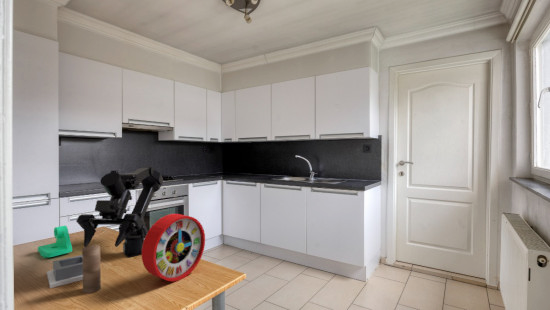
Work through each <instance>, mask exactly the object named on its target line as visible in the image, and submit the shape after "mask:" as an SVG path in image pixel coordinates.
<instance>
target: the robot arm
mask: <svg viewBox="0 0 550 310" xmlns="http://www.w3.org/2000/svg"><path fill="white" fill-rule="evenodd" d="M140 183H141V185H142V190H141V191H140V194H139V195H138V198H137V200H136V203H135V204H134V207H133V209H132V211H131V213H127V212H128V209H127V206H128V204H129V201H132V200H133V196H132V192H131V191H130V190H133V191H134V190H136V189H137V188H138V187H140V186H141V185H140ZM100 184H101V185H102V187H103V189H104V190H105V192H106V194H107V195H108V196H110V199H108V200H106V199H105V200H104V199H103V200H102V199H100V200H99V199H97V200H96V204H95V208H94V211H95V212H99V213H98V215H99V217H101V218H99V217H98V218H96V216H95V215H94V214H93V213H91V214H90V213H89V214H88V213H86V214H85V213H84V214H83V213H82V214H80V215H78V217H77V219H76V221H75V222H76V224H78V225H79V226H80V227H81V228H82V230H83V247H87V246H89V244H90V243H91V241H92V239H93V238H94V236H95V234H96V232H97V230H96V229H97V228H98V226H99V225H101V226H102V225H105V226H107V225H109V226H115V225H116V226H118V225H119V226H118V235H117V237H116V240H115V243H114V246H115V248H117V247H118V246H120V245H121V244H123V245H122V247H123V248H122V253H123V254H124V255H125V256H126V257H127V258H131V257H135V256H140V255H142V246H143V242H144V239H145V236H146V235H147V233H148V231H149V230H148V227H147V226H146V223H145V221H144V218H145V216H146V215H145V214H146V213H147V210H148V208H149V206H150V203H151V200H152V198H153V196H154V193H156V192H159V190H160V189H161V188H162V185H163V184H164V178H163V175H162V174H161V172H159V171H157V170H156V169H155V168H154V167H153V166H151V165H150V166H149V165H148V166H146V165H145V166H140V167H139V168H137V169H136V170H134V171H132V172H129V173H126V172H125V173H120V172H119V170H111V171H110V172H108V173H107V174H105V175H103V176H102V177H101V178H100ZM123 241H124V242H123Z"/></svg>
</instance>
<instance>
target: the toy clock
mask: <svg viewBox="0 0 550 310" xmlns="http://www.w3.org/2000/svg"><path fill="white" fill-rule="evenodd" d="M205 245H206V234H205V230H204V227H203V225H202V224H201V222H200V221H199V220H198V219H197V218H195V217H193V216H189V215H184V214H180V213H169V214H166V215H165V216H162V217H160V218H159V219H158V220H156V221H155V222H154V223H153V224H152V225H151V226H150V228H149V230H148V233H147V235H146V236H145V238H144V242H143V246H142V254H141V261H142V264H143V266H144V269H145V270H146V271H147V272H148V273H149V274H150V275H152V276H155V277H157V278H159V279H162V280H164V281H168V282H177V281H181V280H182V279H185V278H186V277H188V276H189V275H190V274H191V273H193V272H194V270H195V268H197V266H198V265H199V263H200V261H201V259H202V256H203V254H204V250H205Z"/></svg>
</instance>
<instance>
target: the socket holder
mask: <svg viewBox="0 0 550 310" xmlns="http://www.w3.org/2000/svg"><path fill="white" fill-rule="evenodd" d="M46 276H47V281H48V285H49V288H50V289H51V288H56V287H61V286H64V285H68V284H72V283H76V282H79V281H83V260H82V254H80V255H75V256H70V257H66V258H62V259H57V260H56V259H55V260H52V270H48V271H46Z"/></svg>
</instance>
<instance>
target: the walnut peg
mask: <svg viewBox="0 0 550 310" xmlns="http://www.w3.org/2000/svg"><path fill="white" fill-rule="evenodd" d="M81 251H82V253H81V255H82V260H83V280H82V293H83V294H87V295H88V294H93V293H96V292H99V291H100V290H101V285H102V284H101V279H102V277H101V245H99V244H91V245H88V246H87V247H85V246H83V247H82V249H81Z"/></svg>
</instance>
